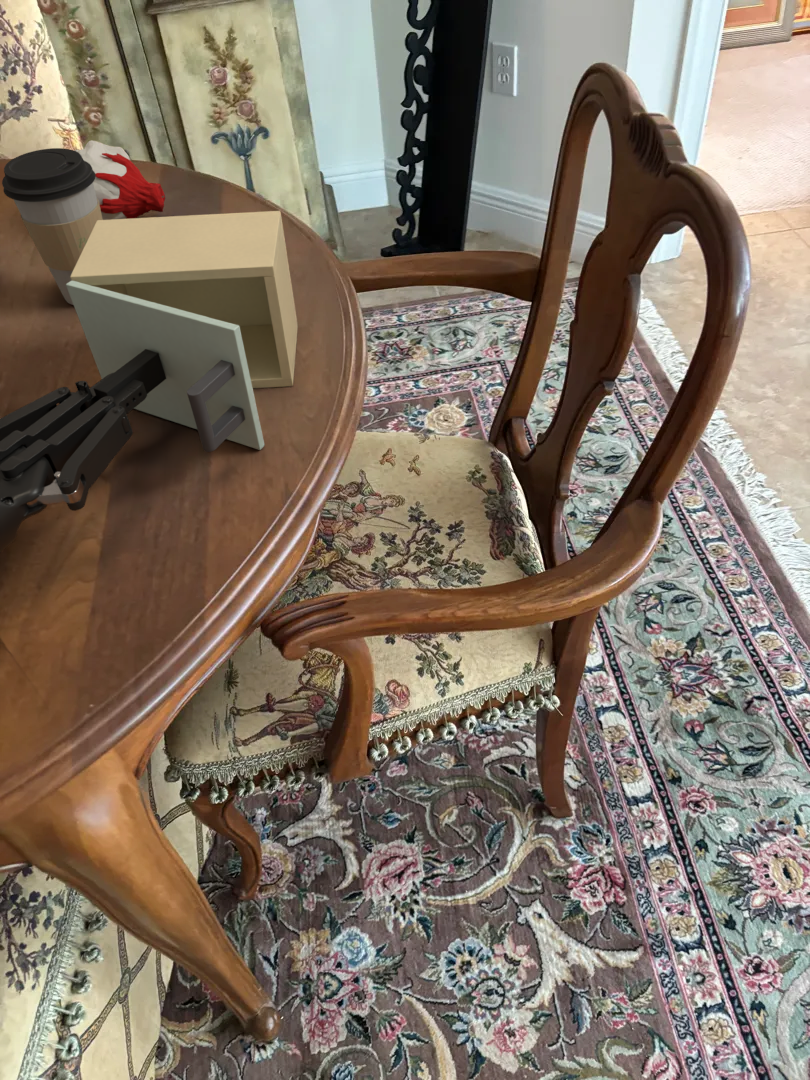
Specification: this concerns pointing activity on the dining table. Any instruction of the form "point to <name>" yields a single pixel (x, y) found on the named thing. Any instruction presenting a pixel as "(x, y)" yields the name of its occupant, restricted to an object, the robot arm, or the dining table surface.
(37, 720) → the dining table surface
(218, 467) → the dining table surface
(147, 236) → the cupboard
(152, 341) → the cupboard door
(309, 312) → the dining table surface
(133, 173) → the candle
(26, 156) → the coffee cup
